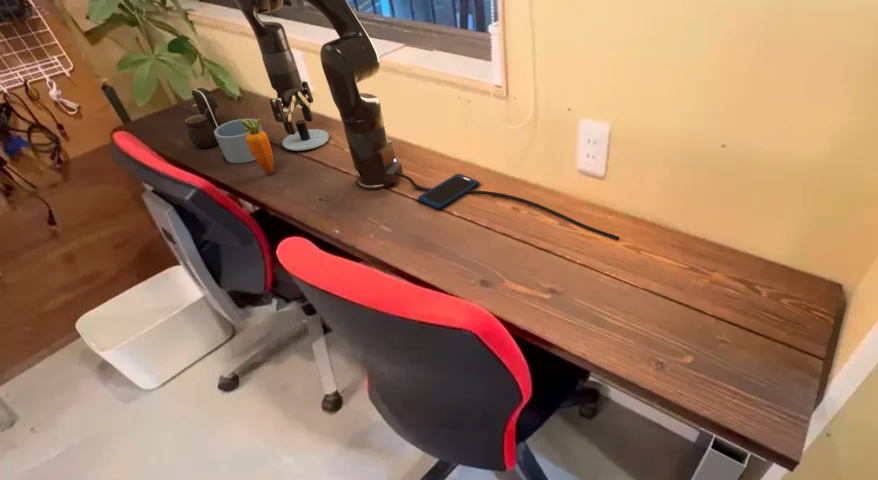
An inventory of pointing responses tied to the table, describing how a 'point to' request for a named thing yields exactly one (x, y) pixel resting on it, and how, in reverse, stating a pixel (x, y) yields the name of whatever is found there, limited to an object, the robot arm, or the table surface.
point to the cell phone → (448, 191)
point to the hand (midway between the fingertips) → (300, 127)
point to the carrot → (259, 145)
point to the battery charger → (206, 105)
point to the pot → (235, 141)
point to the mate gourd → (201, 131)
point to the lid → (305, 138)
